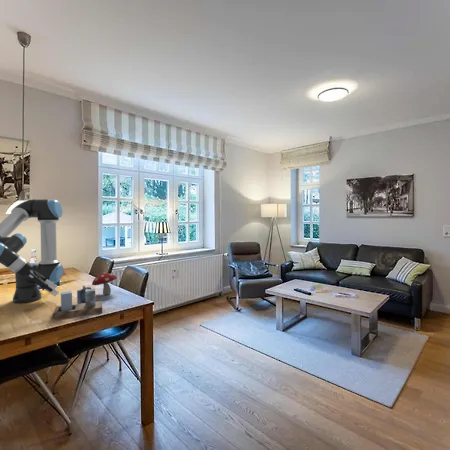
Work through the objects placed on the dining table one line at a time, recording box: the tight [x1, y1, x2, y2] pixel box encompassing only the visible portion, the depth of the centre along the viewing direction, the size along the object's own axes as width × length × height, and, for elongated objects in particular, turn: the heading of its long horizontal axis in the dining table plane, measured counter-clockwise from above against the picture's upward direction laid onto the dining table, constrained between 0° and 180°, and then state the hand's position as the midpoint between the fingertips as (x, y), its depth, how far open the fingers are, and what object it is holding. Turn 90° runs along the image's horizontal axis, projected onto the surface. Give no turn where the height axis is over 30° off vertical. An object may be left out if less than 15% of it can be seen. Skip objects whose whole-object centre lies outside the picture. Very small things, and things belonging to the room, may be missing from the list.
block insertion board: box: [52, 288, 103, 320], centre depth 160 cm, size 24×12×12 cm, turn 114°
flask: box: [76, 285, 92, 304], centre depth 176 cm, size 9×3×11 cm, turn 151°
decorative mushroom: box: [91, 272, 118, 295], centre depth 194 cm, size 16×16×15 cm
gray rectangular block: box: [60, 290, 73, 311], centre depth 157 cm, size 5×5×12 cm
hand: (56, 291), depth 154 cm, fingers open, 13 cm apart
